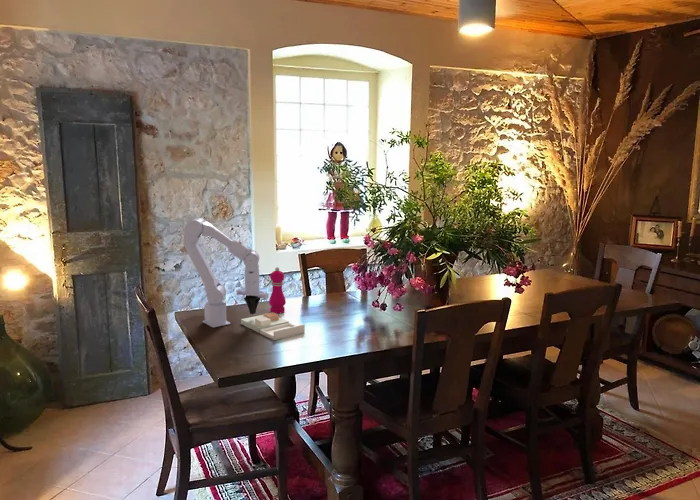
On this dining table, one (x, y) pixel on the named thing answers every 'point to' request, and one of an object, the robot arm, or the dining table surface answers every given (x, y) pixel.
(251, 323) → the board
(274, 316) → the tile terracotta
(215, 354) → the dining table surface
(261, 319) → the tile cream
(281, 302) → the pepper mill
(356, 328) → the dining table surface
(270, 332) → the tray
